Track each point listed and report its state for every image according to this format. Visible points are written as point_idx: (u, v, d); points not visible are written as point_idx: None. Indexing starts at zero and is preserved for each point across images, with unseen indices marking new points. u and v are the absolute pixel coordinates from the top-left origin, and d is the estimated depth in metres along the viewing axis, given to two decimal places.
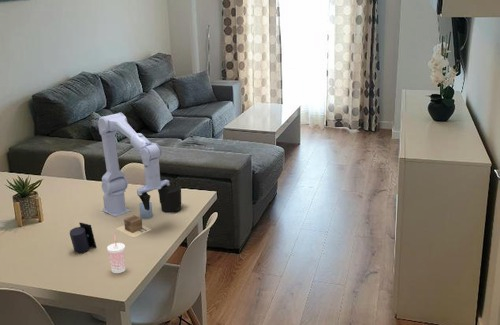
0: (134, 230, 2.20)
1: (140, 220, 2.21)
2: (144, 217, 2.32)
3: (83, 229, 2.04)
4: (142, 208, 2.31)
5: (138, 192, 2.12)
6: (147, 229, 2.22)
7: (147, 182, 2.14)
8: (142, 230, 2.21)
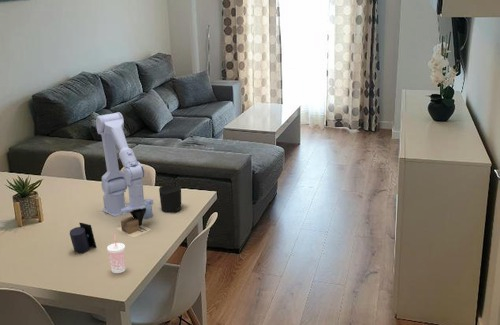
0: (131, 231, 2.19)
1: (136, 221, 2.20)
2: (144, 217, 2.32)
3: (83, 229, 2.04)
4: None
5: (122, 211, 2.17)
6: (147, 229, 2.22)
7: (131, 202, 2.19)
8: (142, 230, 2.21)
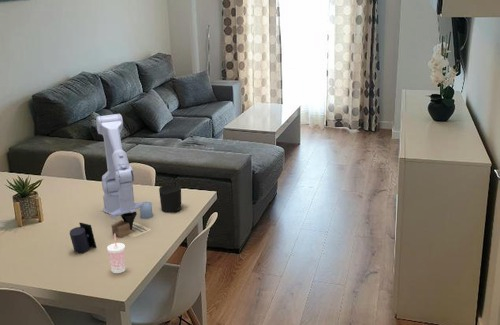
0: (122, 235, 2.16)
1: (127, 225, 2.17)
2: (144, 217, 2.32)
3: (83, 229, 2.04)
4: (142, 208, 2.31)
5: (112, 215, 2.13)
6: (147, 229, 2.22)
7: (121, 205, 2.15)
8: (142, 230, 2.21)
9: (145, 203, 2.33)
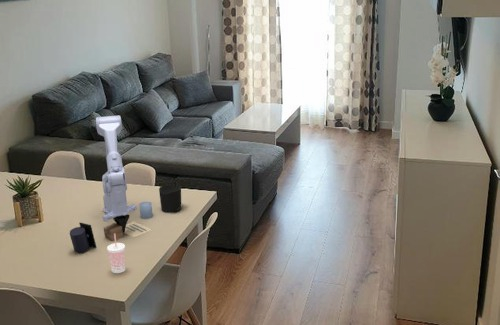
0: (114, 239, 2.14)
1: (120, 228, 2.14)
2: (144, 217, 2.32)
3: (83, 229, 2.04)
4: (142, 208, 2.31)
5: (104, 218, 2.11)
6: (147, 229, 2.22)
7: (113, 208, 2.13)
8: (142, 230, 2.21)
9: (145, 203, 2.33)
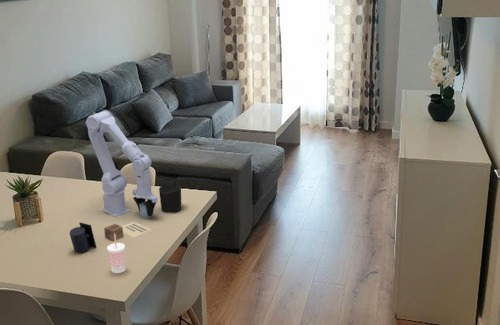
0: (114, 239, 2.14)
1: (120, 229, 2.15)
2: (144, 217, 2.32)
3: (83, 229, 2.04)
4: (142, 208, 2.31)
5: None
6: (147, 229, 2.22)
7: None
8: (142, 230, 2.21)
9: None
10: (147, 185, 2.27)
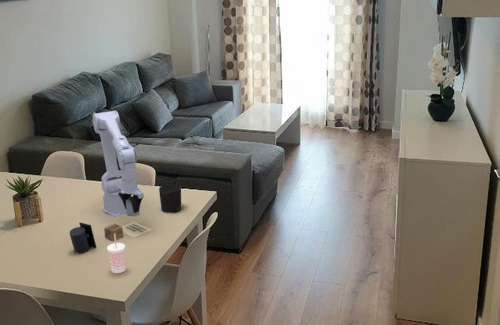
0: (114, 239, 2.14)
1: (120, 229, 2.15)
2: (131, 214, 2.18)
3: (83, 229, 2.04)
4: (129, 204, 2.17)
5: None
6: (147, 229, 2.22)
7: None
8: (142, 230, 2.21)
9: None
10: (133, 180, 2.14)
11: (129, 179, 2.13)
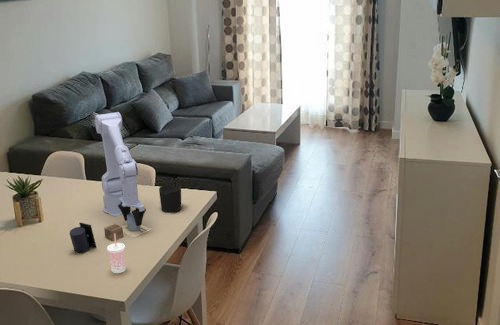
0: (114, 239, 2.14)
1: (120, 229, 2.15)
2: (132, 229, 2.20)
3: (83, 229, 2.04)
4: (130, 220, 2.19)
5: None
6: (147, 229, 2.22)
7: None
8: (142, 230, 2.21)
9: None
10: (134, 193, 2.15)
11: (130, 192, 2.15)
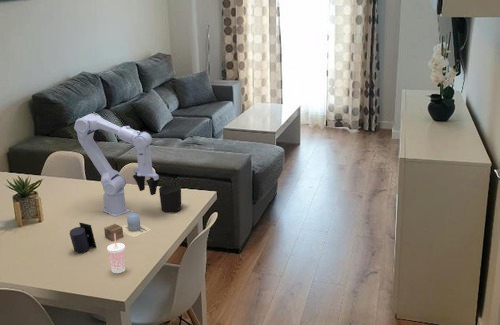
0: (114, 239, 2.14)
1: (120, 229, 2.15)
2: (132, 229, 2.20)
3: (83, 229, 2.04)
4: (130, 220, 2.19)
5: None
6: (147, 229, 2.22)
7: None
8: (142, 230, 2.21)
9: (133, 214, 2.22)
10: (148, 163, 2.26)
11: (149, 161, 2.27)
